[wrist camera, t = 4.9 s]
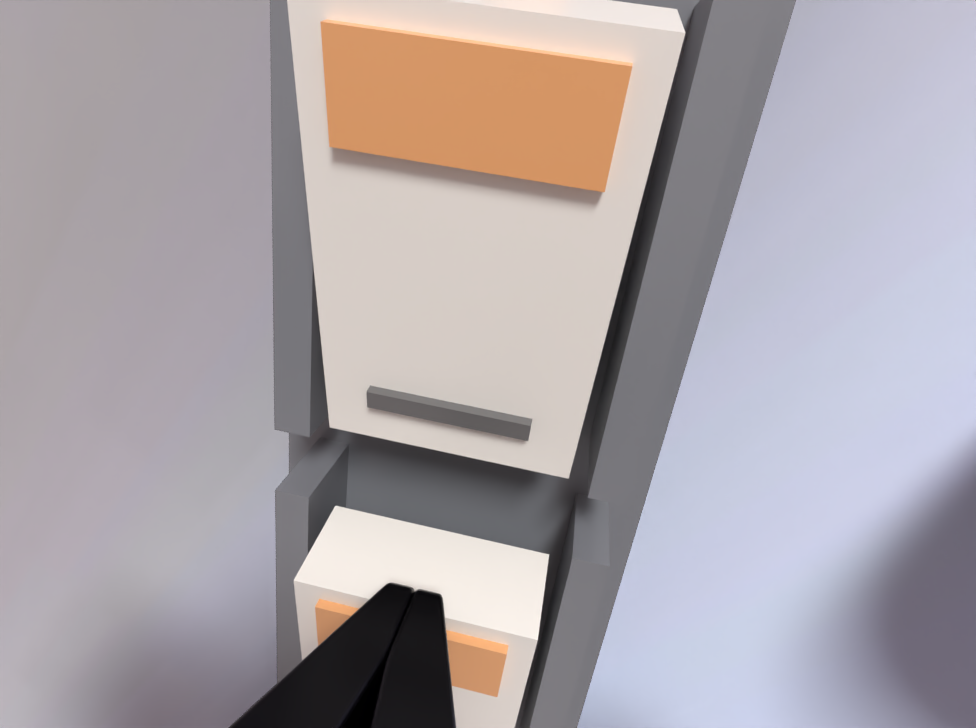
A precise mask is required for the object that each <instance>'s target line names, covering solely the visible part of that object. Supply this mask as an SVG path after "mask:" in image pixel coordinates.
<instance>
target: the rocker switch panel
mask: <svg viewBox="0 0 976 728" xmlns="http://www.w3.org/2000/svg"><path fill="white" fill-rule="evenodd" d="M612 1H620V2H627V3H635V4H642V5H650V6H657V7H665V8H672V9H677V10H678V13H679V16H680V19H681V22H682V24H683V27H684V30H685V36H684V40H683V44H682V48H681V52H680V56H679V59H678V63H677V67H676V71H675V75H674V78H673V82H672V86H671V90H670V94H669V98H668V101H667V105H666V109H665V113H664V117H663V120H662V124H661V128H660V132H659V136H658V140H657V143H656V147H655V151H654V155H653V159H652V162H651V166H650V170H649V174H648V178H647V181H646V185H645V189H644V193H643V197H642V201H641V204H640V208H639V212H638V216H637V220H636V223H635V227H634V231H633V235H632V239H631V243H630V246H629V250H628V254H627V258H626V262H625V265H624V269H623V273H622V277H621V281H620V285H619V288H618V292H617V296H616V300H615V304H614V307H613V311H612V315H611V319H610V323H609V327H608V330H607V334H606V338H605V342H604V346H603V349H602V353H601V357H600V361H599V365H598V368H597V372H596V376H595V380H594V384H593V388H592V391H591V395H590V399H589V403H588V407H587V410H586V414H585V418H584V422H583V426H582V430H581V433H580V437H579V441H578V445H577V449H576V452H575V456H574V460H573V464H572V468H571V472H570V475H569V479H567V478H563V477H558V476H553V475H549V474H544V473H540V472H535V471H530V470H526V469H521V468H516V467H512V466H507V465H502V464H498V463H493V462H488V461H484V460H479V459H474V458H470V457H465V456H461V455H456V454H451V453H447V452H442V451H437V450H433V449H428V448H423V447H419V446H414V445H409V444H405V443H400V442H396V441H391V440H386V439H382V438H377V437H372V436H368V435H363V434H358V433H354V432H349V431H344V430H340V429H335V428H330V426H329V416H328V406H327V396H326V386H325V376H324V366H323V356H322V346H321V336H320V326H319V316H318V306H317V296H316V286H315V276H314V266H313V256H312V246H311V236H310V226H309V216H308V206H307V196H306V186H305V176H304V166H303V156H302V146H301V136H300V126H299V116H298V106H297V95H296V85H295V75H294V65H293V55H292V45H291V35H290V25H289V15H288V5H287V0H270V44H271V139H272V234H273V329H274V423H275V430H279V431H284V432H288V433H289V474H288V476H287V477H286V478H285V479H284V480H283V481H282V483H281V484H280V485H279V486H278V487H277V489H276V490H275V518H276V613H277V683H278V682H279V681H280V680H281V679H282V678H284V677H285V676H286V675H287V674H288V673H289V672H290V671H291V670H292V669H293V668H295V667H296V666H297V665H298V664H299V663H300V662H301V661H302V655H301V645H300V636H299V627H298V617H297V608H296V599H295V589H294V579H295V577H296V575H297V573H298V572H299V570H300V568H301V566H302V564H303V563H304V561H305V559H306V557H307V555H308V554H309V552H310V550H311V548H312V547H313V545H314V543H315V541H316V539H317V538H318V536H319V534H320V532H321V530H322V529H323V527H324V525H325V523H326V522H327V520H328V518H329V516H330V514H331V513H332V511H333V509H334V507H335V506H340V507H344V508H348V509H353V510H357V511H361V512H366V513H370V514H375V515H379V516H383V517H388V518H392V519H396V520H401V521H405V522H410V523H414V524H418V525H423V526H427V527H431V528H436V529H440V530H444V531H449V532H453V533H458V534H462V535H466V536H471V537H475V538H479V539H484V540H488V541H493V542H497V543H501V544H506V545H510V546H514V547H519V548H523V549H527V550H532V551H536V552H541V553H545V554H549V560H548V567H547V575H546V582H545V590H544V597H543V605H542V612H541V620H540V627H539V634H538V641H537V645H536V649H535V652H534V656H533V660H532V664H531V667H530V671H529V675H528V679H527V683H526V686H525V690H524V694H523V698H522V702H521V705H520V709H519V713H518V717H517V720H516V724H515V728H577V725H578V722H579V719H580V715H581V712H582V709H583V705H584V702H585V699H586V695H587V692H588V689H589V685H590V682H591V679H592V675H593V672H594V669H595V665H596V662H597V659H598V656H599V652H600V649H601V646H602V642H603V639H604V636H605V632H606V629H607V626H608V622H609V619H610V616H611V612H612V609H613V606H614V602H615V599H616V596H617V592H618V589H619V586H620V583H621V579H622V576H623V573H624V569H625V566H626V563H627V559H628V556H629V553H630V549H631V546H632V543H633V539H634V536H635V533H636V529H637V526H638V523H639V519H640V516H641V513H642V510H643V506H644V503H645V500H646V496H647V493H648V490H649V486H650V483H651V480H652V476H653V473H654V470H655V466H656V463H657V460H658V456H659V453H660V450H661V446H662V443H663V440H664V437H665V433H666V430H667V427H668V423H669V420H670V417H671V413H672V410H673V407H674V403H675V400H676V397H677V393H678V390H679V387H680V383H681V380H682V377H683V373H684V370H685V367H686V364H687V360H688V357H689V354H690V350H691V347H692V344H693V340H694V337H695V334H696V330H697V327H698V324H699V320H700V317H701V314H702V310H703V307H704V304H705V300H706V297H707V294H708V291H709V287H710V284H711V281H712V277H713V274H714V271H715V267H716V264H717V261H718V257H719V254H720V251H721V247H722V244H723V241H724V237H725V234H726V231H727V227H728V224H729V221H730V218H731V214H732V211H733V208H734V204H735V201H736V198H737V194H738V191H739V188H740V184H741V181H742V178H743V174H744V171H745V168H746V164H747V161H748V158H749V154H750V151H751V148H752V145H753V141H754V138H755V135H756V131H757V128H758V125H759V121H760V118H761V115H762V111H763V108H764V105H765V101H766V98H767V95H768V91H769V88H770V85H771V81H772V78H773V75H774V72H775V68H776V65H777V62H778V58H779V55H780V52H781V48H782V45H783V42H784V38H785V35H786V32H787V28H788V25H789V22H790V18H791V15H792V12H793V8H794V5H795V2H796V0H612Z"/></svg>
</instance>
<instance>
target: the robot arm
mask: <svg viewBox="0 0 976 728" xmlns="http://www.w3.org/2000/svg"><path fill="white" fill-rule="evenodd" d="M229 728H456V720H455V711H454V701H453V691H452V682H451V672H450V662H449V652H448V643H447V633H446V623H445V614H444V604H443V597H442V595H441V594H439V593H435V592H431V591H427V590H423V589H417V590H416V591H415V590H414V589H413V588H412V587H410V586H406V585H401V584H397V583H392V582H391V583H387V584H386V585H385V586H383V587H382V588H381V589H380V590H379V591H378V592H377V593H376V594H375V595H374V596H372V597H371V598H370V599H369V600H368V601H367V602H366V603H365V604H364V605H363V606H361V607H360V608H359V609H358V610H357V611H356V612H355V613H354V614H353V615H352V616H350V617H349V618H348V619H347V620H346V621H345V622H344V623H343V624H342V625H341V626H340V627H338V628H337V629H336V630H335V631H334V632H333V633H332V634H331V635H330V636H329V637H327V638H326V639H325V640H324V641H323V642H322V643H321V644H320V645H319V646H318V647H316V648H315V649H314V650H313V651H312V652H311V653H310V654H309V655H308V656H307V657H305V658H304V659H303V660H302V661H301V662H300V663H299V664H298V665H297V666H296V667H295V668H293V669H292V670H291V671H290V672H289V673H288V674H287V675H286V676H285V677H284V678H282V679H281V680H280V681H279V682H278V683H277V684H276V685H275V686H274V687H273V688H271V689H270V690H269V691H268V692H267V693H266V694H265V695H264V696H263V697H262V698H260V699H259V700H258V701H257V702H256V703H255V704H254V705H253V706H252V707H251V708H250V709H248V710H247V711H246V712H245V713H244V714H243V715H242V716H241V717H240V718H239V719H237V720H236V721H235V722H234V723H233V724H232V725H231V726H230V727H229Z"/></svg>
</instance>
